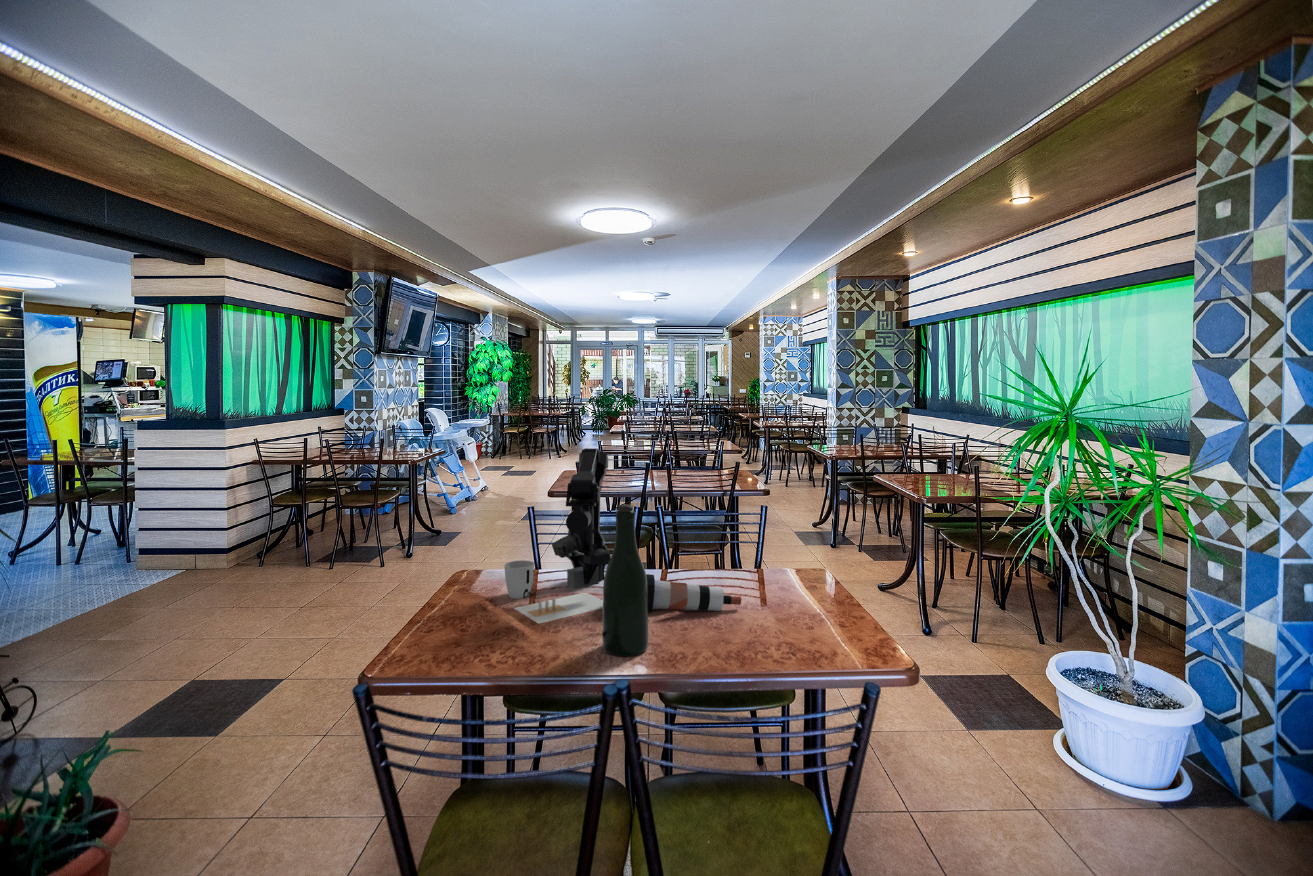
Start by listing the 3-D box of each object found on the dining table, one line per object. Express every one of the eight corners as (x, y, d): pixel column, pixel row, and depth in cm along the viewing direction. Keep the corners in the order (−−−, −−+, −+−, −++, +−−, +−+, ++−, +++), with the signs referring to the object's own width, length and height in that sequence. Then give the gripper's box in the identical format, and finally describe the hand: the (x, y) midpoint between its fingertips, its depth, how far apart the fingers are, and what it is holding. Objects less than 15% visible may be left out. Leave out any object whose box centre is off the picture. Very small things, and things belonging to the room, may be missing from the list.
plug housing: (592, 580, 180) (592, 564, 179) (598, 583, 177) (598, 567, 177) (567, 585, 175) (567, 569, 175) (573, 589, 172) (573, 572, 172)
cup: (528, 604, 178) (528, 568, 177) (500, 603, 179) (499, 567, 178) (538, 595, 186) (538, 561, 185) (511, 594, 187) (510, 559, 186)
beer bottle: (623, 636, 156) (623, 499, 153) (657, 647, 149) (658, 504, 147) (592, 649, 148) (592, 505, 145) (627, 662, 141) (627, 511, 139)
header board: (585, 596, 185) (585, 583, 185) (613, 609, 174) (613, 596, 174) (513, 612, 172) (513, 598, 172) (538, 628, 161) (538, 613, 160)
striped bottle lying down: (739, 628, 173) (747, 601, 168) (611, 619, 169) (615, 591, 164) (733, 600, 182) (741, 573, 177) (611, 591, 178) (615, 563, 173)
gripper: (539, 523, 177) (540, 579, 178) (574, 535, 162) (574, 597, 164) (575, 518, 184) (575, 572, 185) (611, 529, 169) (612, 588, 170)
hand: (583, 582), depth 176 cm, fingers closed on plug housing, 3 cm apart
